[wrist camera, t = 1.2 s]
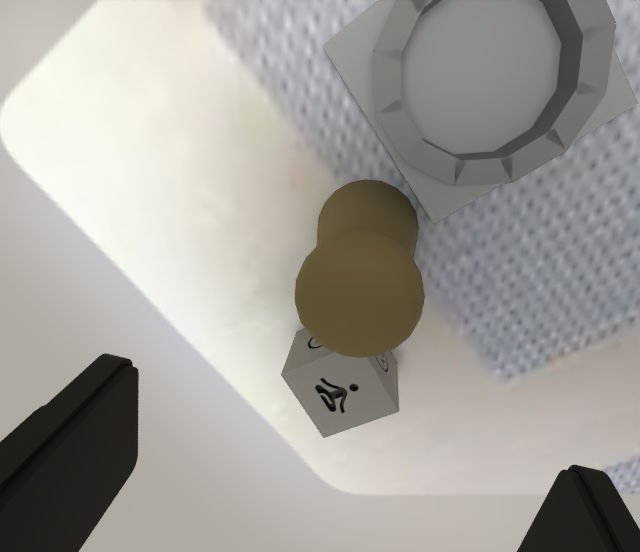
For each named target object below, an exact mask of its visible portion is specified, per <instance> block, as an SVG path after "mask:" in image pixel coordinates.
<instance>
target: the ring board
mask: <svg viewBox="0 0 640 552" xmlns="http://www.w3.org/2000/svg"><path fill="white" fill-rule="evenodd" d="M615 23H616V22H615V19H614V17H613V15H612V13H611V10H610V8H609V6H608V4H607V1H606V0H378V1H377V2H376V3H374V4H373V5H372V6H371V7H369V8H368V9H367V10H366V11H364V12H363V13H362V14H361V15H360V16H358V17H357V18H356V19H355V20H353V21H352V22H351V23H350V24H348V25H347V26H346V27H345V28H344V29H342V30H341V31H340V32H339V33H337V34H336V35H335V36H334V37H332V38H331V39H330V40H329V41H328V42H326V43H325V44H324V45H323V46H322V47H323V48H324V50H325V51H326V53H327V55H328V56H329V58H330V59H331V61H332V63H333V64H334V66H335V67H336V69H337V71H338V72H339V74H340V75H341V77H342V79H343V80H344V82H345V83H346V85H347V87H348V88H349V90H350V91H351V93H352V95H353V96H354V98H355V99H356V101H357V103H358V104H359V106H360V107H361V109H362V111H363V112H364V114H365V115H366V117H367V119H368V120H369V122H370V123H371V125H372V127H373V128H374V130H375V131H376V133H377V135H378V136H379V138H380V139H381V141H382V143H383V144H384V146H385V147H386V149H387V151H388V152H389V154H390V155H391V157H392V159H393V160H394V162H395V163H396V165H397V167H398V168H399V170H400V171H401V173H402V175H403V176H404V178H405V179H406V181H407V183H408V184H409V186H410V187H411V189H412V190H413V192H414V194H415V195H416V197H417V198H418V200H419V202H420V203H421V205H422V206H423V208H424V210H425V211H426V213H427V214H428V216H429V218H430V219H431V221H432V222H433V224H436V223H437V222H439V221H441V220H442V219H444V218H446V217H447V216H449V215H451V214H452V213H454V212H456V211H458V210H459V209H461V208H463V207H464V206H466V205H468V204H469V203H471V202H473V201H474V200H476V199H478V198H480V197H481V196H483V195H485V194H486V193H488V192H490V191H491V190H493V189H495V188H496V187H498V186H500V185H501V184H503V183H511V182H514V181H516V180H518V179H519V178H521V177H523V176H524V175H526V174H528V173H529V172H531V171H533V170H535V169H536V168H538V167H540V166H541V165H543V164H545V163H546V162H548V161H550V160H552V159H553V158H555V157H557V156H558V155H560V154H562V153H564V152H565V151H566V150H568V148H569V147H570V145H571V144H572V143H573V142H574V141H576V140H578V139H579V138H581V137H583V136H584V135H586V134H588V133H589V132H591V131H593V130H595V129H596V128H598V127H600V126H601V125H603V124H605V123H606V122H608V121H610V120H611V119H613V118H615V117H617V116H618V115H620V114H622V113H623V112H625V111H627V110H628V109H630V108H632V107H633V106H635V105H637V104H638V101H637V99H636V97H635V95H634V92H633V90H632V88H631V86H630V84H629V81H628V79H627V77H626V75H625V73H624V70H623V68H622V66H621V64H620V62H619V59H618V57H617V55H616V53H615V50H614V48H613V42H614V35H615V28H616V24H615Z"/></svg>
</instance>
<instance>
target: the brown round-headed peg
mask: <svg viewBox="0 0 640 552" xmlns="http://www.w3.org/2000/svg"><path fill="white" fill-rule="evenodd" d="M418 230H419V227H418V221H417V215H416V212H415V210H414V208H413V206H412V204H411V202H410V201H409V199H408V198H407V197H406V196H405V195H404V194H403V193H402V192H400V191H399V190H398V189H397V188H395V187H393V186H391V185H389V184H387V183H384V182H382V181H373V180H361V181H357V182H352V183H349V184H347V185H345V186H343V187H342V188H340V189H338V190H336V191H335V192H334V193H333V194H332V195H331V197H330V198H329V199H328V200H327V201H326V202H325V204H324V206H323V208H322V211H321V213H320V215H319V220H318V233H317V247H316V248H315V249H314V250H313V251H312V252H311V253H310V254H309V255H308V256H307V257H306V259H305V261H304V263H303V265H302V267H301V270H300V272H299V274H298V277H297V279H296V289H295V303H296V307H297V311H298V314H299V318H300V321H301V323H302V324H303V326H304V327H305V329H306V330H307V332H308V333H309V335H310V336H311V337H312V338H314V339H315V340H316V341H317V342H318V343H320V344H321V345H322V346H323V347H325V348H326V349H328V350H331V351H333V352H335V353H338V354H340V355H342V356H349V357H356V358H363V357H371V356H378V355H380V354H383V353H385V352H387V351H390V350H392V349H394V348H396V347H397V346H399V345H400V344H401V343H402V342H403V341H404V340H406V339H407V338H408V337H409V336H410V335H411V333H412V331H413V330H414V328H415V326H416V325H417V323H418V321H419V319H420V317H421V314H422V308H423V303H424V298H425V295H424V289H423V283H422V277H421V273H420V271H419V269H418V267H417V265H416V264H415V262H414V260H413V256H414V251H415V246H416V241H417V236H418Z"/></svg>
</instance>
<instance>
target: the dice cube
mask: <svg viewBox="0 0 640 552" xmlns="http://www.w3.org/2000/svg"><path fill="white" fill-rule="evenodd" d="M281 375H282V377H283V378H284V380H285V381H286V383H287V384H288V386H289V387H290V389H291V390H292V392H293V393H294V395H295V396H296V398H297V399H298V401H299V402H300V404H301V405H302V407H303V408H304V409H305V411H306V412H307V414H308V415H309V417H310V418H311V420H312V421H313V423H314V424H315V426H316V427H317V429H318V430H319V432H320V433H321V435H322V436H323V438H325V437H328V436H331V435H333V434H336V433H339V432H342V431H345V430H348V429H350V428H353V427H356V426H359V425H362V424H365V423H367V422H370V421H373V420H376V419H379V418H382V417H384V416H387V415H390V414H393V413H396V412H399V397H398V374H397V362H396V360H395V359H394V357H393V355H392V353H391V352H390V351H387V352H385V353H383V354H380V355H378V356H371V357H363V358H356V357H349V356H342V355H340V354H338V353H335V352H333V351H331V350H328V349H326V348H325V347H323V346H322V345H321V344H320V343H318V342H317V341H316V340H315V339H314V338H312V337H311V336H310V335H309V333H308V332H307V330H306V329H303V330H300V331H298V332H297V333H296V336H295V338H294V341H293V344H292V346H291V349H290V352H289V354H288V357H287V360H286V363H285V365H284V368H283V371H282V373H281Z"/></svg>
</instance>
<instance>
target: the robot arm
mask: <svg viewBox="0 0 640 552" xmlns="http://www.w3.org/2000/svg"><path fill="white" fill-rule="evenodd" d="M137 457H138V369H137V368H135V367H133V366H132V361H131V360H130V359H127V358H123V357H119V356H114V355H110V354H102V355H101V356H99V357H98V358H97V359H96V360H95V361H94V362H93V363H92V364H90V365H89V366H88V367H87V368H86V369H85V370H84V371H83V372H82V373H81V374H79V375H78V376H77V377H76V378H75V379H74V380H73V381H72V382H71V383H70V384H68V386H66V387H65V388H64V389H63V390H62V391H61V392H60V393H59V394H57V395H56V396H55V397H54V398H53V399H52V400H51V401H50V402H49V403H48V404H46V405H44V406H41V407H40V408H39V409H37V410H36V411H34V412H33V413H32V414H31V415H30V416H29V417H28V418H27V419H26V420H25V421H23V422H22V423H21V424H20V425H19V426H18V427H17V428H16V429H14V430H13V431H12V432H11V433H10V434H9V435H8V436H7V437H5V438H4V439H3V440H2V441H1V442H0V552H79V550H80V549H81V547H82V546H83V544H84V543H85V541H86V540H87V538H88V537H89V535H90V534H91V532H92V531H93V529H94V528H95V526H96V525H97V524H98V522H99V521H100V519H101V518H102V516H103V515H104V513H105V512H106V510H107V508H108V507H109V506H110V504H111V503H112V501H113V500H114V498H115V497H116V495H117V494H118V492H119V491H120V489H121V488H122V486H123V485H124V484H125V482H126V480H127V479H128V478H129V476H130V475H131V473H132V471H133V469H134V467H135V465H136V462H137ZM517 552H640V529H639V528H638V526H637V524H636V522H635V521H634V519H633V517H632V516H631V514H630V512H629V510H628V509H627V507H626V505H625V504H624V502H623V500H622V498H621V497H620V495H619V493H618V491H617V490H616V488H615V486H614V485H613V483H612V481H611V479H610V478H609V476H608V475H607V474H606V473H604V472H603V471H599V470H595V469H591V468H587V467H582V466H578V465H572V466H570V467H569V468H568V470H562V471H561V472H560V473H559V474H558V476H557V478H556V480H555V482H554V484H553V486H552V487H551V489H550V491H549V493H548V495H547V497H546V499H545V500H544V502H543V504H542V506H541V508H540V510H539V512H538V513H537V515H536V517H535V519H534V521H533V523H532V525H531V527H530V528H529V530H528V532H527V534H526V536H525V538H524V540H523V541H522V543H521V545H520V547H519V549H518V551H517Z"/></svg>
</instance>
